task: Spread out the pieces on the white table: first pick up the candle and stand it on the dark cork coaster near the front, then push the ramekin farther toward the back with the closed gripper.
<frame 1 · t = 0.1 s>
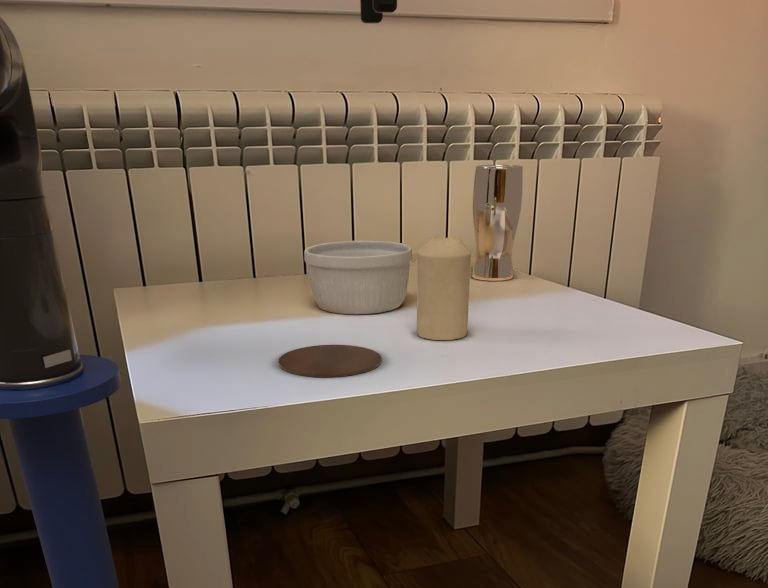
hand: (377, 17, 72), 30 cm above the table, tool pointing down, fingers open, 8 cm apart
beer glass: (492, 278, 108), on the table
coaster: (330, 361, 71), on the table
ramekin: (359, 306, 92), on the table
candle: (441, 336, 79), on the table
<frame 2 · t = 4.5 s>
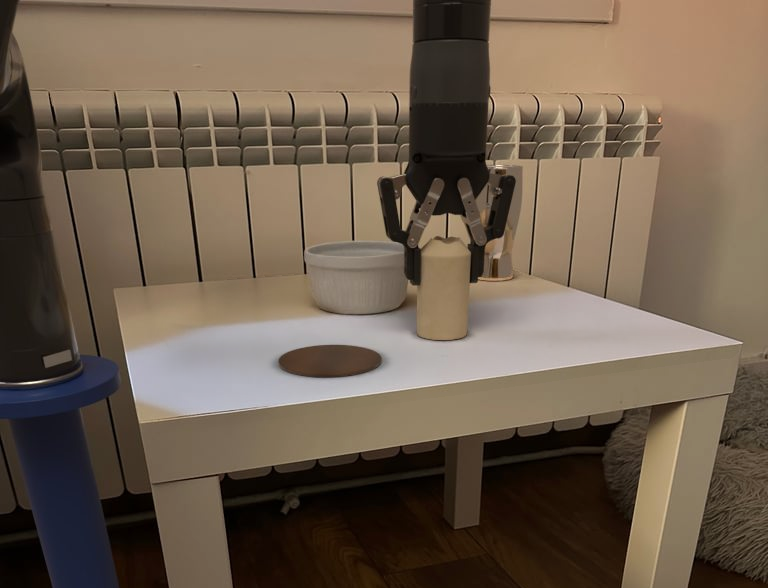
hand: (443, 282, 77), 6 cm above the table, tool pointing down, fingers closed on candle, 5 cm apart
candle: (441, 336, 79), on the table, touching gripper
everything else where it was.
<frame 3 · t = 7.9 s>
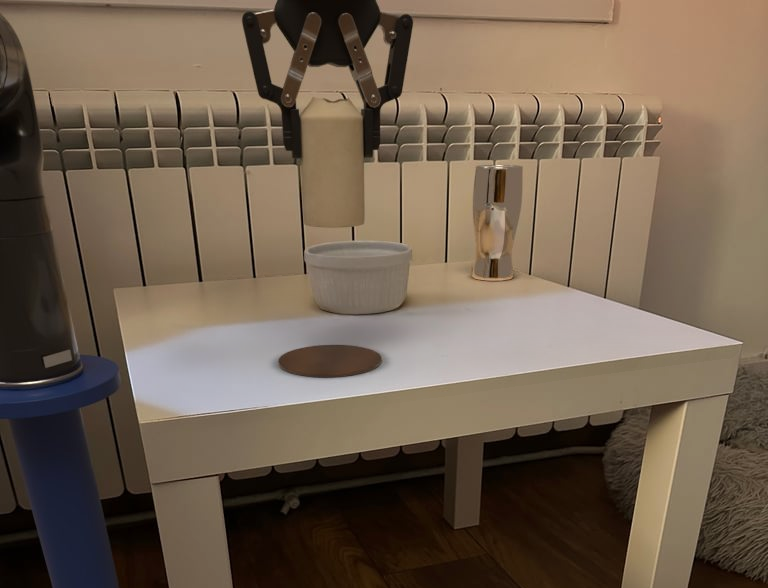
hand: (331, 156, 63), 18 cm above the table, tool pointing down, fingers closed on candle, 5 cm apart
candle: (334, 226, 66), point 12 cm above the table, touching gripper
everything else where it was.
when the fingers open (6 cm above the table, at t = 11.2 s): candle stays where it is, resting on coaster.
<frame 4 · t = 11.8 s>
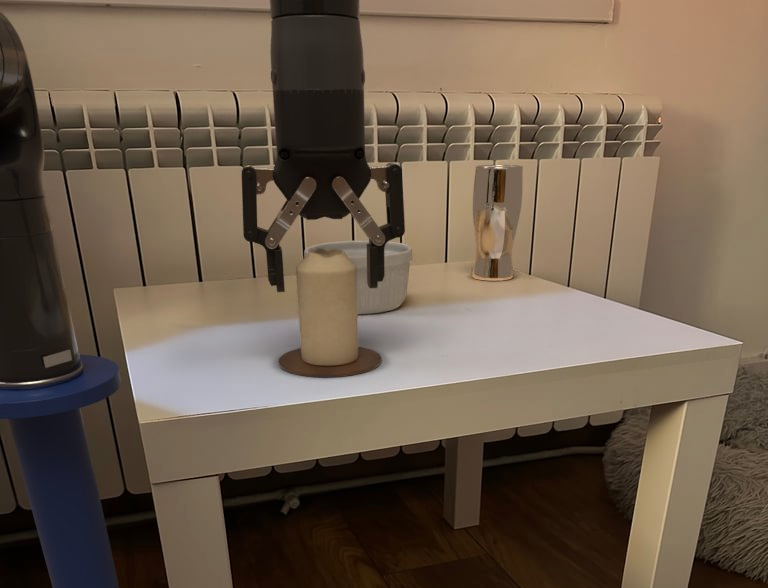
hand: (326, 288, 67), 7 cm above the table, tool pointing down, fingers open, 8 cm apart
candle: (330, 360, 71), resting on coaster
everything else where it was.
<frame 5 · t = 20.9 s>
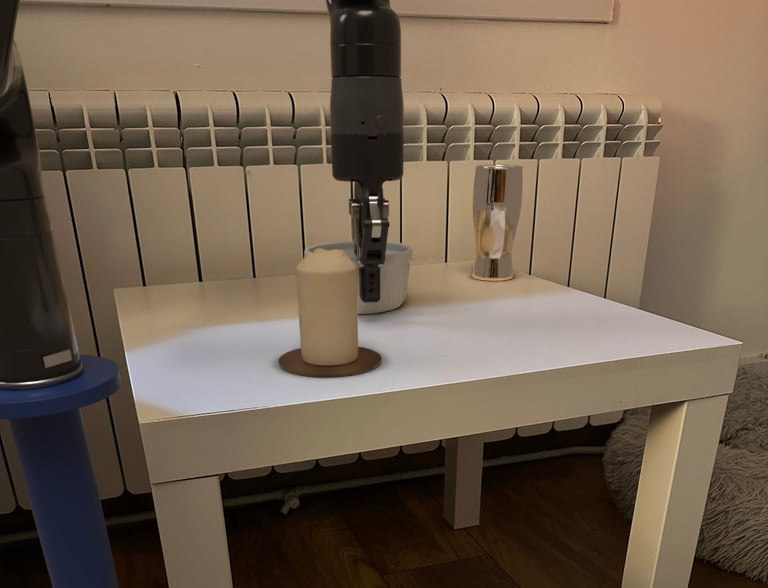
hand: (370, 300, 83), 3 cm above the table, tool pointing down, fingers closed
ramekin: (359, 306, 92), on the table, touching gripper
everything else where it was.
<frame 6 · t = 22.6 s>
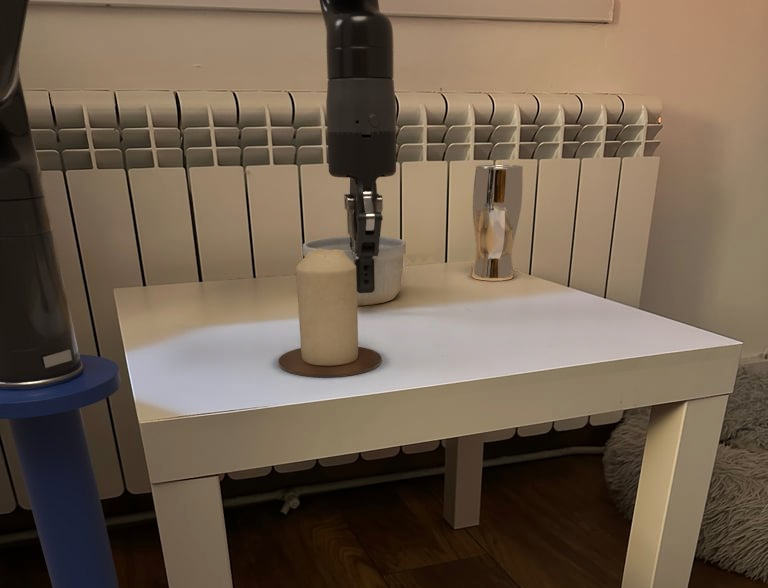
hand: (364, 291, 87), 3 cm above the table, tool pointing down, fingers closed
ramekin: (355, 299, 97), on the table, touching gripper
everything else where it was.
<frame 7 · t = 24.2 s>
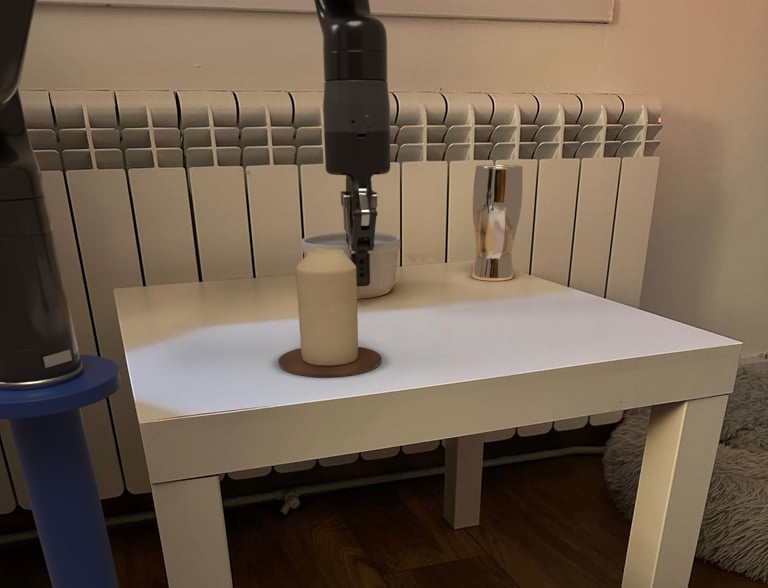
hand: (360, 285, 90), 3 cm above the table, tool pointing down, fingers closed
ramekin: (352, 292, 100), on the table, touching gripper
everything else where it was.
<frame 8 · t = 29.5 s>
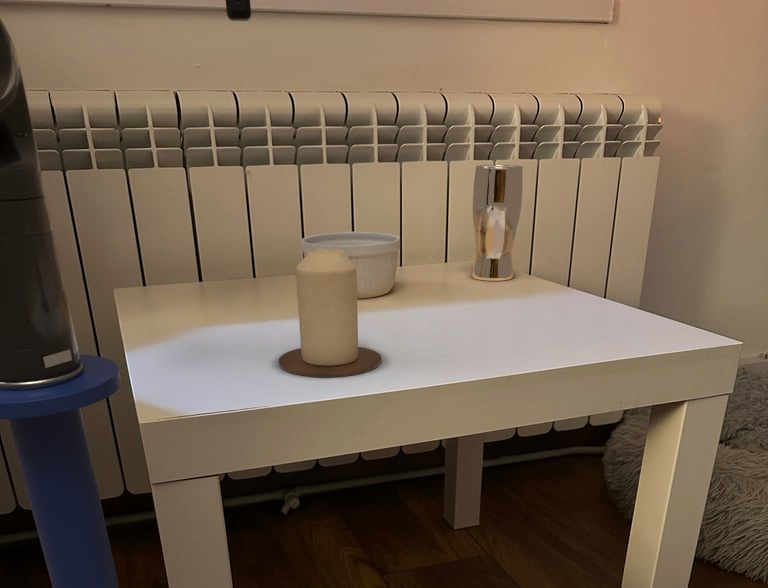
hand: (239, 19, 67), 29 cm above the table, tool pointing down, fingers closed
ramekin: (351, 292, 100), on the table
everything else where it was.
at the end: candle 0.1 cm off-centre on the coaster, point 0.1 cm above the coaster's base; candle tilted 0°; ramekin inside the target area (0.9 cm from its centre), on the table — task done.
